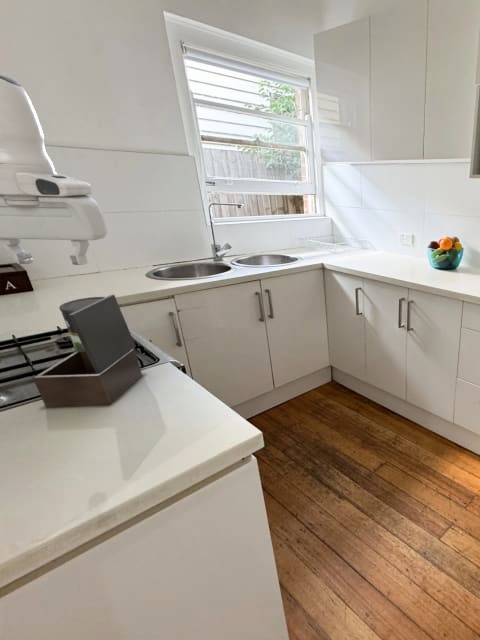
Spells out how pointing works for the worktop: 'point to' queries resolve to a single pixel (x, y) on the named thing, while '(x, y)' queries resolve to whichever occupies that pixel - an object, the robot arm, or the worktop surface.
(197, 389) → the worktop surface
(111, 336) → the dark grey box door
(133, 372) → the open brown box
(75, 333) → the coffee can
